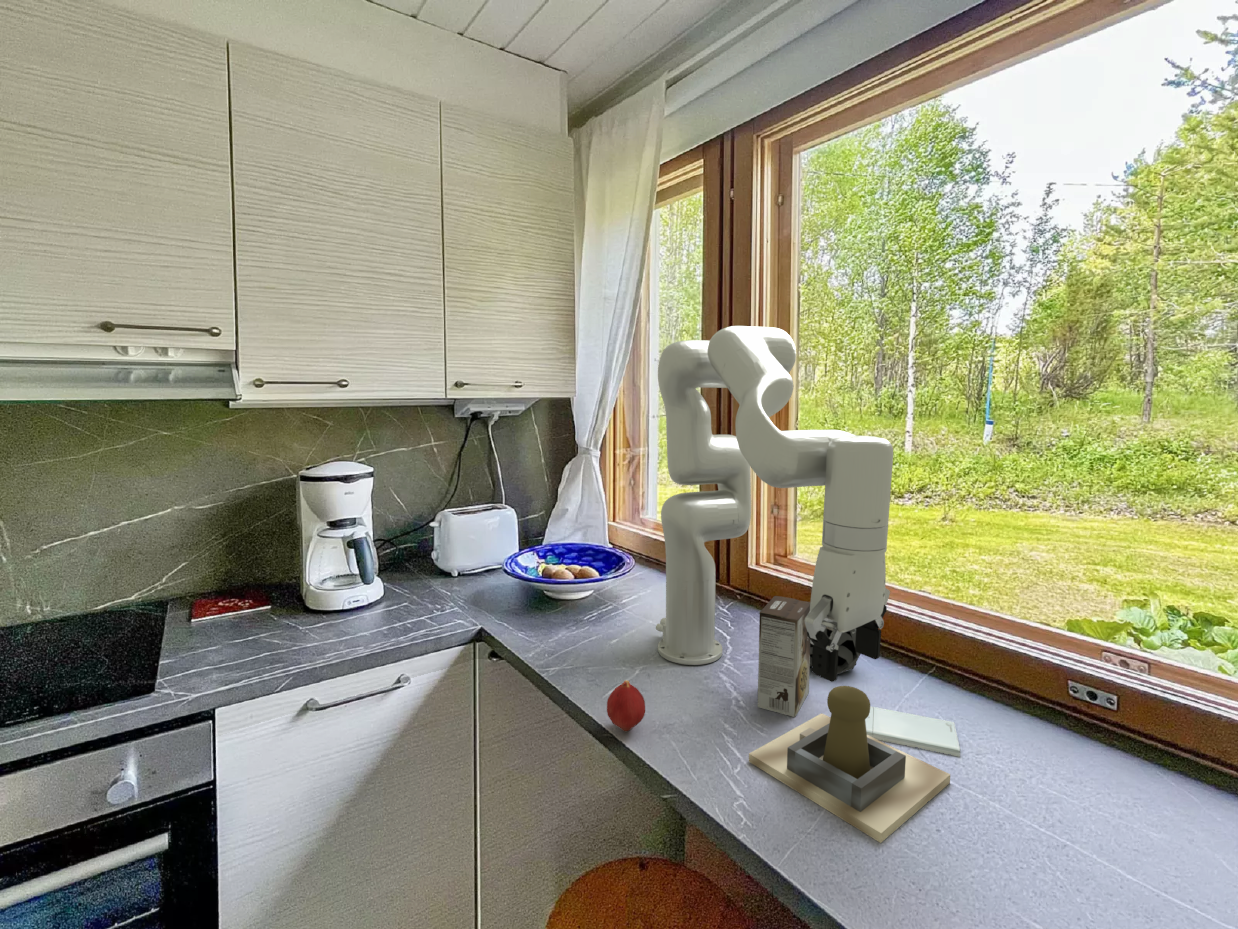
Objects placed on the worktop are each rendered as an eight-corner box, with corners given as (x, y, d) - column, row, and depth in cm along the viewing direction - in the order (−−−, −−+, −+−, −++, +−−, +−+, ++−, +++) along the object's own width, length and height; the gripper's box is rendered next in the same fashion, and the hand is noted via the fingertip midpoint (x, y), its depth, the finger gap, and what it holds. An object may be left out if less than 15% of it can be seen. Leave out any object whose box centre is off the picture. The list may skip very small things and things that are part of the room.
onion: (601, 724, 92) (601, 674, 91) (636, 716, 94) (636, 668, 93) (614, 744, 86) (614, 692, 85) (651, 736, 88) (651, 685, 87)
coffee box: (772, 684, 104) (774, 594, 102) (809, 693, 101) (813, 601, 99) (755, 707, 96) (757, 611, 94) (795, 718, 93) (799, 618, 91)
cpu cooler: (800, 672, 108) (802, 619, 107) (798, 659, 114) (800, 608, 112) (861, 679, 106) (863, 624, 105) (856, 665, 111) (858, 612, 110)
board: (748, 761, 82) (749, 732, 81) (821, 720, 92) (822, 694, 92) (880, 843, 67) (882, 808, 66) (949, 783, 77) (951, 752, 77)
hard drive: (954, 720, 90) (865, 703, 95) (960, 749, 83) (864, 729, 88) (953, 731, 90) (865, 713, 95) (959, 761, 83) (863, 739, 88)
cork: (867, 760, 80) (871, 683, 79) (873, 789, 74) (877, 705, 73) (820, 753, 82) (823, 677, 80) (822, 781, 76) (825, 699, 75)
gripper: (864, 520, 82) (856, 638, 85) (785, 540, 72) (779, 674, 74) (918, 531, 76) (908, 657, 79) (842, 554, 66) (833, 699, 68)
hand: (846, 665), depth 76 cm, fingers open, 9 cm apart
